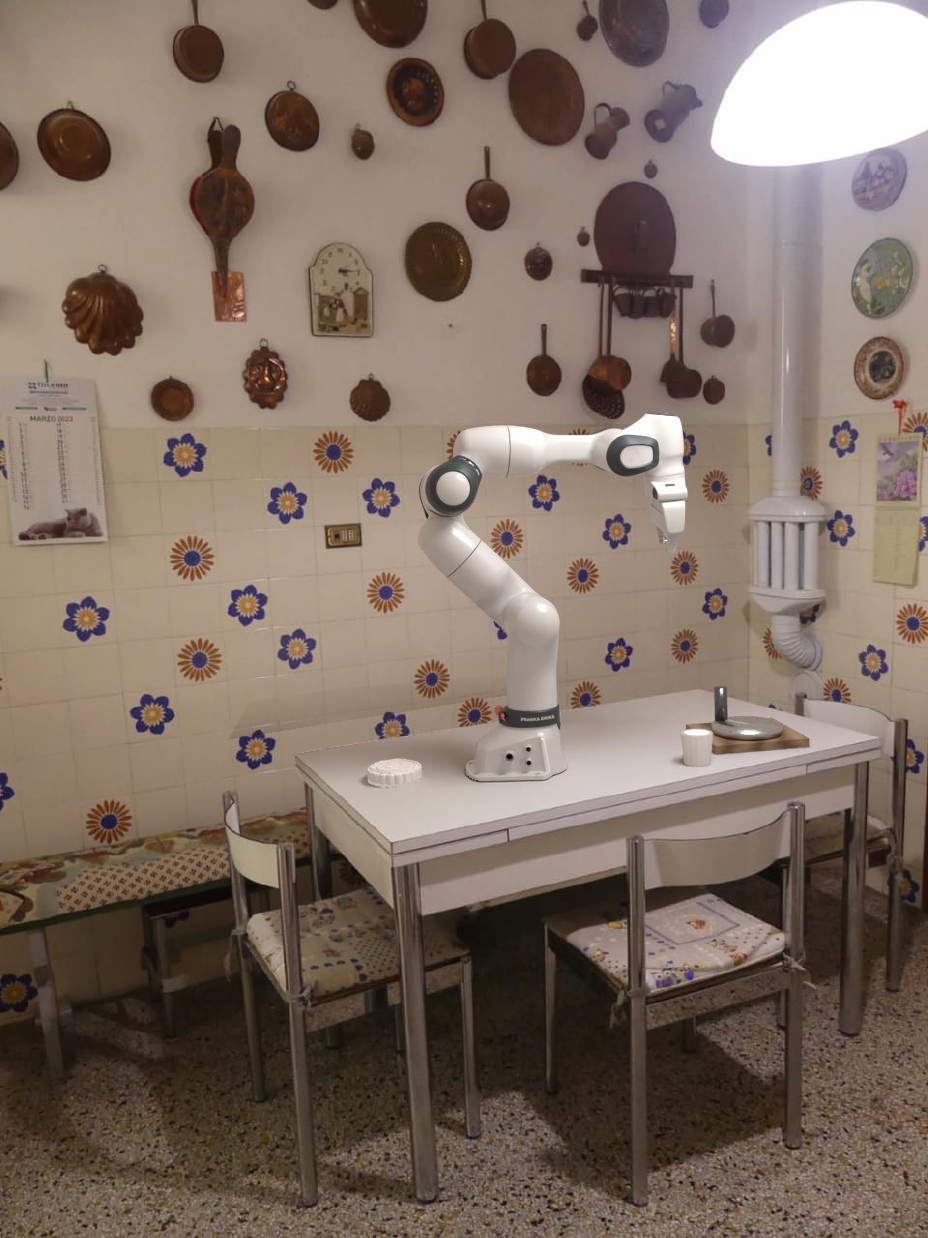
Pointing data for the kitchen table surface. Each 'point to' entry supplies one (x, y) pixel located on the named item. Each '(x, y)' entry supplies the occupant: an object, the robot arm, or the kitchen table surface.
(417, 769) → the mooncake
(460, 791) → the kitchen table surface
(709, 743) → the white fluted cup
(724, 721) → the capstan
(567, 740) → the kitchen table surface
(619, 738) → the kitchen table surface
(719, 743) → the dial board
